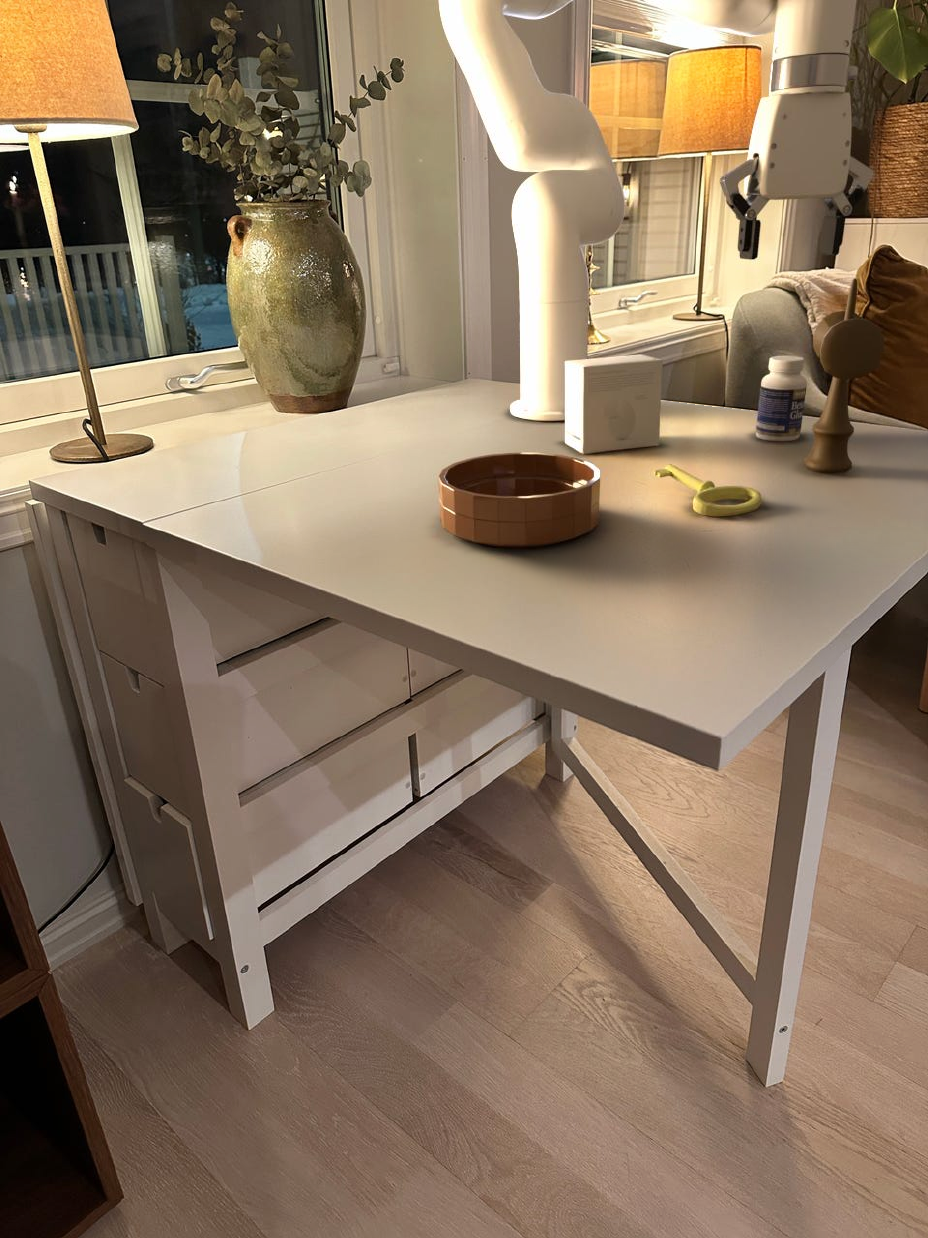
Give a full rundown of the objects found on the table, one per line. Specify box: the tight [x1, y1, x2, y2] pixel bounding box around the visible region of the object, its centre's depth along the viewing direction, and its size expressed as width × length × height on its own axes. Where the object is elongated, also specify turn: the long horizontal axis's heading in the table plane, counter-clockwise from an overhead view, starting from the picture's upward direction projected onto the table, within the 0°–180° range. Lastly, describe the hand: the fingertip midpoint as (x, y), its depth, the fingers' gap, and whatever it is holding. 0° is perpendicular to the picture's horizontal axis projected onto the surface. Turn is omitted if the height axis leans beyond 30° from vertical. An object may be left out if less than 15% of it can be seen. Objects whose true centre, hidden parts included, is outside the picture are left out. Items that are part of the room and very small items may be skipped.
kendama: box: [803, 278, 885, 474], centre depth 94 cm, size 6×10×20 cm, turn 167°
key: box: [653, 463, 762, 517], centre depth 90 cm, size 7×12×2 cm, turn 43°
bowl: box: [437, 452, 601, 548], centre depth 85 cm, size 15×15×5 cm
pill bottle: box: [755, 355, 808, 442], centre depth 110 cm, size 5×5×10 cm
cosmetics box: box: [564, 353, 664, 455], centre depth 109 cm, size 10×6×10 cm, turn 105°
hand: (788, 256), depth 100 cm, fingers open, 9 cm apart
